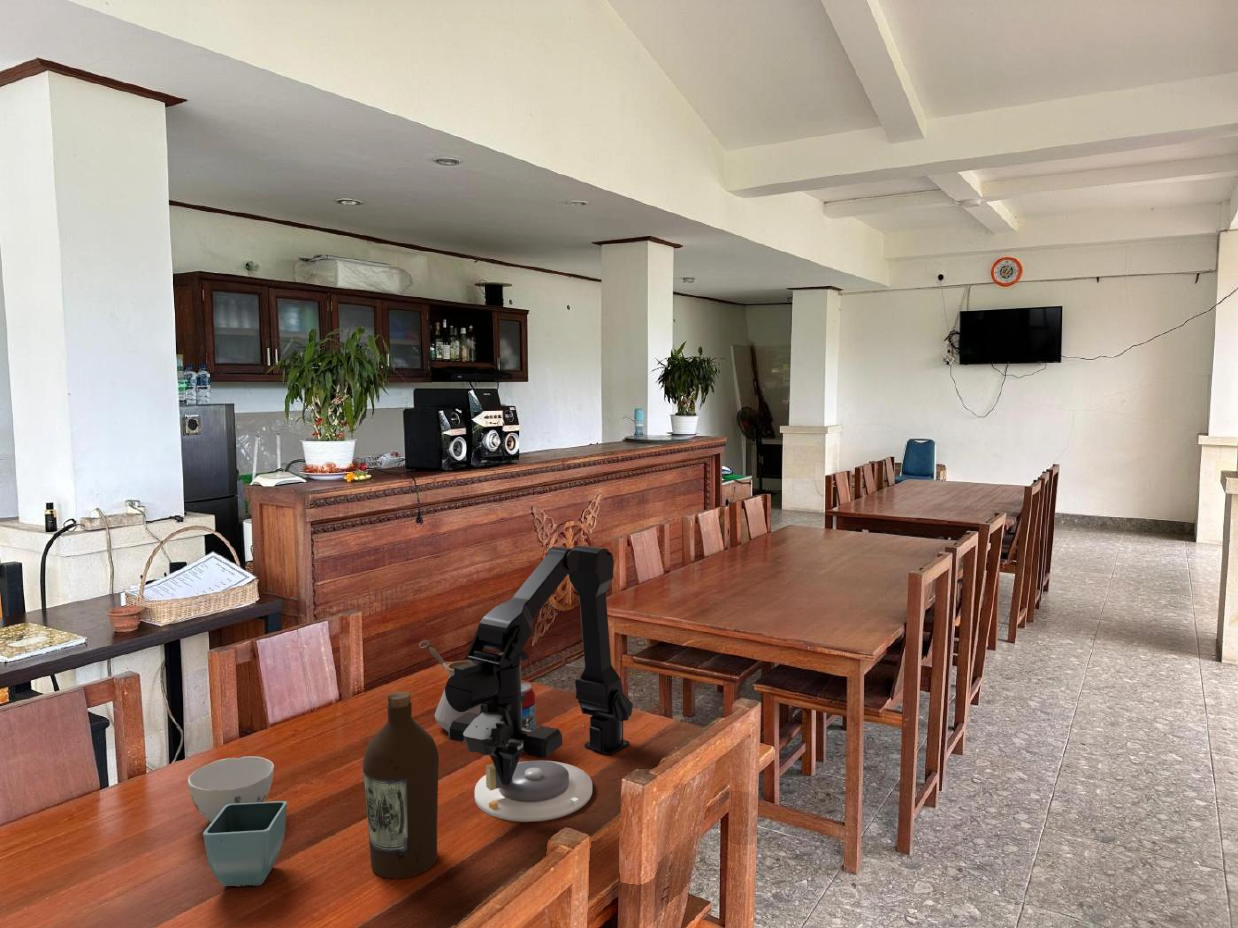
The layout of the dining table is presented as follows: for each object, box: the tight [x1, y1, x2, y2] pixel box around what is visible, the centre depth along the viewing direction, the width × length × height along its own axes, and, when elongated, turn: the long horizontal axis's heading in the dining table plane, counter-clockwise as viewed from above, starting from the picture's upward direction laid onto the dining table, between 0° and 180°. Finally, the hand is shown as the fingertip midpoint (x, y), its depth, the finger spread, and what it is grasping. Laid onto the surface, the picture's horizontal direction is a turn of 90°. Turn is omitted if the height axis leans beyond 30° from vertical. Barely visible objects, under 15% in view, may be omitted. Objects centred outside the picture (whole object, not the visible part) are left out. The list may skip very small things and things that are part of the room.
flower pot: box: [202, 800, 288, 887], centre depth 120 cm, size 9×9×9 cm
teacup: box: [187, 755, 275, 823], centre depth 137 cm, size 15×12×8 cm
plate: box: [474, 760, 593, 823], centre depth 144 cm, size 20×20×2 cm
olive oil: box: [362, 691, 440, 880], centre depth 123 cm, size 11×11×25 cm
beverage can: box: [521, 681, 537, 753], centre depth 162 cm, size 7×7×12 cm
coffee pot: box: [418, 639, 481, 733], centre depth 176 cm, size 21×12×15 cm, turn 43°
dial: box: [485, 760, 569, 802], centre depth 144 cm, size 14×12×5 cm
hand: (506, 784), depth 139 cm, fingers closed
